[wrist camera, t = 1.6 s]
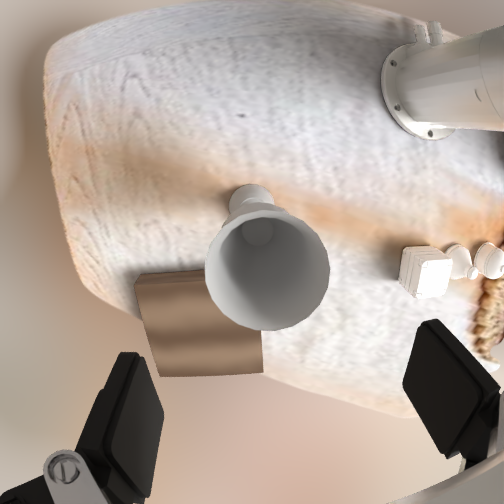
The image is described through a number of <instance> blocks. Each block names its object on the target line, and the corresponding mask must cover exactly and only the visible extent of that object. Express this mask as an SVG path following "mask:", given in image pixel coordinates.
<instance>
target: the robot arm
mask: <svg viewBox="0 0 504 504" xmlns="http://www.w3.org/2000/svg"><path fill="white" fill-rule="evenodd" d="M426 25H427V30H428V35H429V37H430V42H431V43H427V42H426V37H425V36H426V34H425V29H424V26H422V25H415V26H413V27H414V32H415V36H416V41H417V42H415V44H413V43H412V44H405V45H403V46H400V47H398V48H396V49H395V50H393V51H392V52H391V53H390V54H389V55H388V56H387V58H386V60H385V62H384V64H383V67H382V71H381V88H382V93H383V97H384V100H385V102H386V105H387V107H388V109H389V111H390V113H391V114H392V116H393V118H394V119H395V120H396V121H397V123H398V124H399V125H400V126H401V127H402V128H403V129H404V130H406V131H407V132H408V133H410V134H411V135H413V136H415V137H418V138H420V139H425V140H440V139H443V138H445V137H447V136H449V135H450V134H451V133H453V132H454V130H455V129H456V128H457V129H477V130H491V131H503V132H504V25H503V26H499V27H496V28H492V29H488V30H485V31H481V32H478V33H475V34H471V35H468V36H465V37H462V38H458V39H455V40H452V41H449V42H446V43H443V38H442V36H443V34H442V29H441V24H440V23H439V22H436V21H428V22H427V23H426ZM390 63H391V64H390ZM394 106H395V108H394ZM402 385H403V389H404V391H405V393H406V394H407V396H408V398H409V399H410V401H411V403H412V404H413V406H414V408H415V410H416V411H417V413H418V415H419V416H420V418H421V420H422V422H423V423H424V425H425V427H426V429H427V430H428V432H429V434H430V436H431V438H432V439H433V441H434V443H435V445H436V447H437V448H438V450H439V452H440V453H441V454H444V455H445V457H446V459H449V458H451V457H453V456H455V455H457V454H459V453H461V455H462V461H461V465H460V469H459V473H458V474H457V475H455V476H453V477H451V478H449V479H447V480H445V481H442V482H440V483H438V484H436V485H434V486H431V487H429V488H427V489H424V490H422V491H420V492H417V493H414V494H412V495H409V496H407V497H404V498H401V499H398V500H396V501H393V502H390V503H387V504H504V391H503V393H502V394H500V393H499V390H500V388H501V387H500V386H499V385H498V383H497V382H496V381H495V380H494V379H493V378H492V377H491V375H490V374H489V373H488V372H487V371H486V370H485V368H484V367H483V366H482V365H481V364H480V363H479V362H478V361H477V360H476V358H475V357H474V356H473V355H472V354H471V353H470V352H469V351H468V350H467V349H466V348H465V346H464V345H463V344H462V343H461V342H460V341H459V340H458V339H457V338H456V337H455V336H454V335H453V334H452V333H451V332H450V331H449V330H448V329H447V328H446V327H445V325H444V324H443V323H442V322H441V321H440V320H438V319H432V320H428V321H424V322H422V323H421V325H420V327H418V329H417V332H416V336H415V340H414V344H413V348H412V351H411V355H410V358H409V362H408V365H407V368H406V372H405V375H404V378H403V382H402ZM163 421H164V411H163V408H162V405H161V403H160V400H159V397H158V395H157V392H156V390H155V387H154V384H153V381H152V379H151V376H150V373H149V370H148V367H147V364H146V361H145V359H144V357H140V356H139V354H138V353H137V352H121V353H120V354H119V355H118V357H117V360H116V362H115V364H114V366H113V368H112V371H111V373H110V375H109V377H108V380H107V382H106V384H105V386H104V389H102V390H100V391H99V393H98V395H97V397H96V400H95V402H94V404H93V407H92V409H91V411H90V414H89V416H88V419H87V421H86V423H85V426H84V429H83V431H82V433H81V436H80V438H79V441H78V444H77V446H76V449H75V451H71V450H60V451H56V452H55V453H53V454H51V455H50V456H49V458H47V460H46V462H45V463H44V468H43V472H44V475H42V476H39V477H37V478H35V479H33V480H31V481H28V482H26V483H24V484H22V485H19V486H17V487H14V488H12V489H10V490H7V491H6V492H4V493H3V494H2V495H1V496H0V504H133V503H136V504H144V501H145V498H149V496H150V494H151V488H152V482H153V476H154V469H155V464H156V458H157V452H158V447H159V442H160V436H161V431H162V426H163Z"/></svg>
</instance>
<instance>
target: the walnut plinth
mask: <svg viewBox="0 0 504 504" xmlns="http://www.w3.org/2000/svg"><path fill="white" fill-rule="evenodd" d="M134 289H135V293H136V297H137V301H138V305H139V309H140V312H141V316H142V320H143V323H144V327H145V330H146V334H147V337H148V341H149V344H150V347H151V351H152V354H153V357H154V360H155V363H156V367H157V369H158V373H159V375H160V377H187V376H188V377H189V376H190V377H191V376H219V375H237V374H251V373H263V357H262V340H261V330H254V329H251V328H248V327H245V326H242V325H239V324H237V323H236V322H234V321H233V320H232V319H230V318H229V317H227V316H226V315H224V314H223V313H222V311H221V310H220V309H219V308H218V306H217V305H216V304H215V302H214V301H213V300H212V298H211V295H210V293H209V290H208V287H207V285H206V281H205V270H197V271H183V272H169V273H154V274H141V275H140V276H139V278H138V279H137V281H136V282H135V284H134Z"/></svg>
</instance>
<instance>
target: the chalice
mask: <svg viewBox="0 0 504 504" xmlns="http://www.w3.org/2000/svg"><path fill="white" fill-rule="evenodd" d="M229 212H230V216H229V217H228V218H227V220H226V221H225V222H224V224H223V226H222V229H221V230H220V232H219V233H218V234H217V236H216V237H215V238H214V240H213V241H212V242H211V244H210V247H209V250H208V253H207V257H206V260H205V281H206V285H207V287H208V290H209V293H210V295H211V298H212V300H213V301H214V302H215V304H216V305H217V306H218V308H219V309H220V310H221V311H222V313H223V314H224V315H226V316H227V317H229V318H230V319H232V320H233V321H234V322H236V323H237V324H239V325H242V326H245V327H248V328H251V329H254V330H263V331H276V330H280V329H284V328H288V327H292V326H294V325H296V324H297V323H299V322H301V321H302V320H304V319H306V318H307V317H309V315H310V314H311V313H312V312H313V311H314V310H315V309H316V308H317V307H318V306H319V305H320V303H321V301H322V299H323V297H324V295H325V292H326V290H327V288H328V283H329V275H330V266H329V260H328V255H327V251H326V249H325V247H324V245H323V243H322V242H321V240H320V238H319V236H318V234H317V233H316V232H314V231H313V230H312V229H311V228H310V227H309V226H308V225H307V224H306V223H305V222H304V221H302V220H300V219H298V218H296V217H294V216H291V215H290V214H289V213H288V212H286V211H285V210H284V209H282V208H280V207H278V206H276V205H275V203H274V199H273V197H272V195H271V194H270V192H269V191H268V190H267V189H265V188H264V187H262V186H259V185H257V184H248V185H244V186H242V187H240V188H238V189H237V190H236V191H235V192H234V193H233V195H232V196H231V199H230V201H229Z"/></svg>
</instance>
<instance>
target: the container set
mask: <svg viewBox="0 0 504 504" xmlns="http://www.w3.org/2000/svg"><path fill="white" fill-rule="evenodd" d="M478 273H481V274H483V275H485V276H486V277H487V278H489V279H496V278H499V277H500V276H502V275H503V273H504V252H503V251H502V250H501V249H500V248H497V247H495V246H494V245H493V244H492V243H490V242H486V243H484V244H482V245H481V246H480V248H479V249H478V251H477V253H476V255H475V259H474V266H473V265H472V261H471V256H470V253H469V251H468V249H466V248H465V247H463V246H461V245H459V244H455V245H452V246H451V247H449V248H448V249H447V251H446V252H445V254H444V253H443V252H441V251H440V250H438V249H437V248H435V247H433V246H416V247H406V248H405V249H404V250H403V253H402V260H401V266H400V272H399V278H398V279H399V284H401V286H403V287H404V288H405V289H406V290H407V291H408V292H409V293H410V294H411V295H412V296H413V297H414V298H417V299H420V298H428V297H435V296H440V295H441V296H442V295H443V294H444V293H445V292H446V289H447V285H448V281H449V278H451V279H453V280H455V279H459V278H463V277H468V278H469V279H470V280H473V279H475V278H476V277H477V275H478Z"/></svg>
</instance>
